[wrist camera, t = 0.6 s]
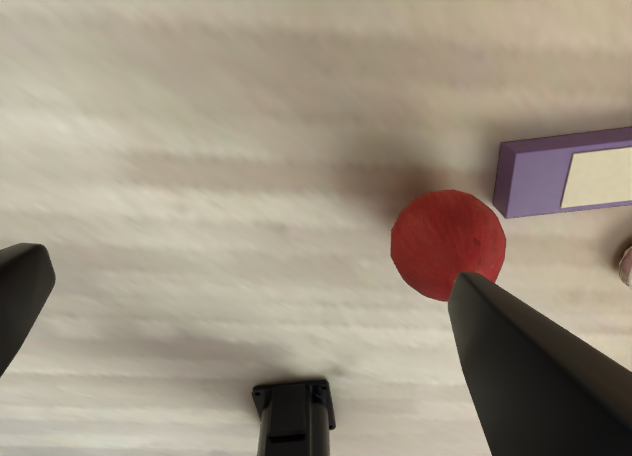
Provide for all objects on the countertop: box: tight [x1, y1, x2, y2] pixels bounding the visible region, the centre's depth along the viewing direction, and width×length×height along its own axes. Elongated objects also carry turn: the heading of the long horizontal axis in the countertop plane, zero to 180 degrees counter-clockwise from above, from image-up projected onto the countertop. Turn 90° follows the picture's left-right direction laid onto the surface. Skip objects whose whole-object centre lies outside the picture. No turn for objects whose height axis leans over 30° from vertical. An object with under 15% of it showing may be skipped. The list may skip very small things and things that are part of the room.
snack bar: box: [493, 127, 632, 219], centre depth 21 cm, size 10×4×2 cm, turn 97°
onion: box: [391, 190, 506, 302], centre depth 20 cm, size 6×6×8 cm
